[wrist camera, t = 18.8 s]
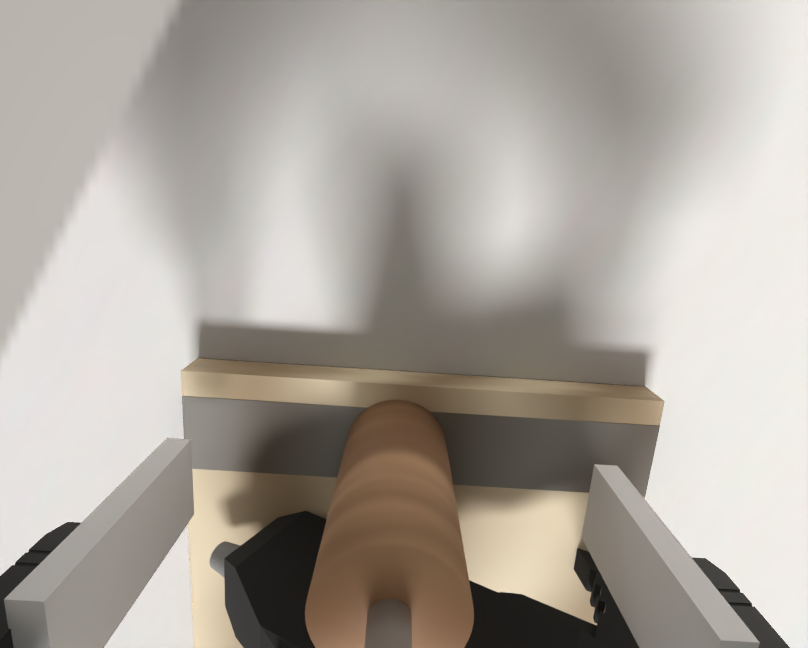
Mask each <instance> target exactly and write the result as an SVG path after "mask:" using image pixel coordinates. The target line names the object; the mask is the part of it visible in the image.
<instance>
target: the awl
mask: <svg viewBox="0 0 808 648" xmlns="http://www.w3.org/2000/svg"><path fill="white" fill-rule="evenodd" d="M305 622H306V627H307V631H308V634H309V636H310V639H311V641H312V642H313V644H314V646H315V648H464V647H465V645H466V644H467V642H468V640H469V637H470V635H471V632H472V628H473V623H474V608H473V601H472V595H471V589H470V583H469V577H468V571H467V565H466V559H465V553H464V547H463V541H462V535H461V529H460V523H459V517H458V511H457V506H456V500H455V494H454V488H453V482H452V476H451V470H450V464H449V458H448V452H447V446H446V440H445V435H444V432H443V429H442V427H441V425H440V423H439V422H438V420H437V419H436V418H435V416H434V415H433V414H432V413H430V412H429V411H428V410H427V409H425V408H424V407H422V406H420V405H418V404H416V403H413V402H410V401H405V400H386V401H382V402H379V403H376V404H374V405H372V406H370V407H368V408H367V409H365V410H364V411H363V412H361V413H360V414H359V415H358V416H357V418H356V419H355V420H354V422H353V423H352V425H351V427H350V429H349V432H348V436H347V440H346V444H345V448H344V452H343V456H342V460H341V464H340V468H339V472H338V476H337V480H336V484H335V488H334V492H333V496H332V500H331V504H330V508H329V512H328V516H327V520H326V524H325V528H324V532H323V536H322V540H321V544H320V548H319V552H318V556H317V560H316V564H315V568H314V572H313V576H312V580H311V584H310V588H309V592H308V596H307V600H306V606H305Z"/></svg>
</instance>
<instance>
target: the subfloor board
mask: <svg viewBox="0 0 808 648" xmlns="http://www.w3.org/2000/svg"><path fill="white" fill-rule="evenodd" d="M181 377H182V404H183V426H184V439H191V450H192V473H193V497H194V515H193V517H192V518H191V520H190V521H189V523H188V530H189V551H190V573H191V595H192V617H193V639H194V648H244V647H243V646H242V645H241V644H240V642H239V641H238V640H237V639H236V637H235V634H234V631H233V628H232V625H231V622H230V619H229V616H228V613H227V610H226V607H225V580H224V577H222V576H221V575H220V574H219V573H217V572H216V571H215V570H214V569H213V568H211V567H210V563H209V562H210V557H211V554H212V552H213V551H214V549H215V548H216V547H217V546H218V545H219V544H220V543H221V542H224V541H227V542H230V543H233V544H237V545H240V546H241V545H242V544H244V543H245V542H246V541H248V540H249V539H250V538H251V537H253V536H254V535H255V534H257V533H258V532H259V531H261V530H262V529H263V528H265V527H266V526H267V525H269V524H270V523H271V522H272V521H274V520H275V519H276V518H278V517H281V516H285V515H290V514H294V513H298V512H302V511H308V512H311V513H313V514H315V515H318V516H320V517H322V518H325V519H327V516H328V512H329V508H330V504H331V500H332V496H333V492H334V488H335V484H336V480H337V476H338V472H339V468H340V464H341V460H342V456H343V452H344V448H345V444H346V440H347V436H348V432H349V429H350V427H351V425H352V423H353V422H354V420H355V419H356V418H357V416H358V415H359V414H360V413H361V412H363V411H364V410H365V409H367V408H368V407H370V406H372V405H374V404H376V403H379V402H382V401H386V400H405V401H410V402H413V403H416V404H418V405H420V406H422V407H424V408H425V409H427V410H428V411H429V412H430V413H432V414H433V415H434V416H435V418H436V419H437V420H438V422H439V423H440V425H441V427H442V429H443V432H444V435H445V440H446V446H447V452H448V458H449V464H450V470H451V476H452V482H453V488H454V494H455V500H456V506H457V511H458V517H459V523H460V529H461V535H462V541H463V547H464V553H465V559H466V565H467V571H468V577H469V580H470V581H472V582H475V583H477V584H479V585H482V586H484V587H486V588H489V589H491V590H493V591H496V592H498V593H499V592H507V593H516V594H523V595H525V596H527V597H530V598H532V599H534V600H537V601H539V602H542V603H544V604H546V605H549V606H551V607H554V608H556V609H558V610H561V611H563V612H566V613H568V614H570V615H573V616H575V617H577V618H580V619H582V620H585V621H587V622H589V623H592V624H594V625H597V623H595V622H594V619H593V615H594V610H595V607H592V606H591V604H590V598H591V592H589V591H587V590H586V589H585V588H584V586H583V584H582V583H581V581H580V579H579V578H578V576H577V574H576V572H575V571H574V563H575V558H576V552H577V548H579V549H582V550H585V551H588V549H587V547H586V545H585V543H584V541H583V539H582V537H581V536H582V531H583V525H584V519H585V514H586V508H587V502H588V497H589V491H590V485H591V480H592V474H593V468H594V464H598V465H615V466H618V467H619V468H620V469H621V471H622V472H623V473H624V474H625V476H626V477H627V478H628V479H629V481H630V482H631V483H632V484H633V486H634V487H635V488H636V489H637V491H638V492H639V493H640V494H641V495H642V497H643V498H645V494H646V489H647V485H648V480H649V475H650V470H651V465H652V461H653V456H654V451H655V446H656V441H657V437H658V432H659V427H660V426H659V425H660V421H661V416H662V411H663V406H664V401H663V400H662V399H661V398H659V397H658V396H657V395H656V394H654V393H653V392H652V391H650V390H649V389H648V388H646V387H642V386H626V385H611V384H595V383H579V382H563V381H548V380H532V379H516V378H501V377H485V376H469V375H453V374H438V373H422V372H406V371H390V370H375V369H359V368H343V367H327V366H312V365H296V364H280V363H264V362H249V361H233V360H217V359H201V358H198V359H196V360H195V361H194V362H192V363H191V364H190V365H188V366H187V367H186V368H184V369H183V370H182V371H181ZM588 552H589V551H588Z"/></svg>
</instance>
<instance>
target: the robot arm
mask: <svg viewBox="0 0 808 648" xmlns="http://www.w3.org/2000/svg"><path fill="white" fill-rule="evenodd" d="M193 515H194V497H193V473H192V450H191V439H175V438H167V439H166V440H165V441H164V442H163V443H162V444H161V445H160V446H159V447H158V448H157V449H156V450H155V451H154V452H153V453H152V454H151V455H150V456H149V457H148V458H147V459H146V460H145V461H143V462H142V463H141V464H140V465H139V466H138V467H137V468H136V469H135V470H134V471H133V472H132V473H131V474H130V475H129V476H128V477H127V478H126V479H125V480H124V481H123V482H122V483H121V484H120V485H119V486H118V487H117V488H116V489H115V490H114V491H113V492H112V493H111V494H110V495H109V496H108V497H107V498H106V499H105V500H104V501H103V502H102V503H101V504H100V505H99V506H98V507H97V508H96V509H95V510H94V511H93V512H92V513H91V514H90V515H89V516H88V517H87V518H86V519H85V520H84V521H83V522H82V523H74V522H67V523H65V524H63V525H62V526H60V527H58V528H56V529H55V530H53V531H51V532H49V533H48V534H46V535H45V536H43V537H42V538H41V539H40V540H39V541H38V542H37V543H36V544H35V545H34V546H33V547H32V548H30V549H29V552H28V553H25V554H24V555H23V556H22V557H21V558H20V559H19V560H17V561H16V563H15V565H12V566H11V567H10V568H9V569H8V570H7V571H6V572H4V573H3V574H2V575H1V576H0V648H104V646H105V645H106V643H107V642H108V640H109V639H110V637H111V636H112V635H113V633H114V632H115V630H116V629H117V627H118V626H119V624H120V623H121V621H122V620H123V618H124V617H125V615H126V614H127V612H128V611H129V609H130V608H131V607H132V605H133V604H134V602H135V601H136V599H137V598H138V596H139V595H140V593H141V592H142V590H143V589H144V587H145V586H146V584H147V583H148V581H149V580H150V579H151V577H152V576H153V574H154V573H155V571H156V570H157V568H158V567H159V565H160V564H161V562H162V561H163V559H164V558H165V556H166V555H167V554H168V552H169V551H170V549H171V548H172V546H173V545H174V543H175V542H176V540H177V539H178V537H179V536H180V534H181V533H182V531H183V530H184V528H185V527H186V526H187V524H188V523H189V521H190V520H191V518H192V517H193ZM581 537H582V539H583V541H584V543H585V545H586V547H587V549H588V551H589V553H590V555H591V556H592V558H593V560H594V562H595V564H596V566H597V568H598V570H599V572H600V574H601V576H602V577H603V579H604V581H605V583H606V585H607V587H608V589H609V591H610V593H611V595H612V597H613V598H614V600H615V602H616V604H617V606H618V608H619V610H620V612H621V614H622V616H623V617H624V619H625V621H626V623H627V625H628V627H629V629H630V631H631V633H632V635H633V637H634V638H635V640H636V642H637V644H638V646H639V648H790V647H789V646H788V645H787V644H786V643H785V642H784V640H783V639H782V638H781V637H780V636H779V635H778V634H777V632H776V631H775V630H774V629H773V628H772V627H771V625H770V624H769V623H768V622H767V621H766V620H765V618H764V617H763V616H762V615H761V614H760V613H759V611H758V610H757V609H756V608H755V607H752V603H751V602H750V601H749V600H748V599H747V598H746V596H745V595H744V594H743V593H740V589H739V588H738V587H737V586H736V585H735V584H734V583H733V581H732V580H731V579H730V578H729V577H728V576H727V574H726V573H724V572H723V571H722V570H720V569H719V568H718V567H716V566H715V565H714V564H712V563H711V562H710V561H708V560H707V559H705V558H691V556H690V555H689V554H688V553H687V551H686V550H685V549H684V548H683V546H682V545H681V544H680V543H679V541H678V540H677V539H676V538H675V536H674V535H673V534H672V533H671V531H670V530H669V529H668V528H667V527H666V525H665V524H664V523H663V522H662V520H661V519H660V518H659V517H658V515H657V514H656V513H655V512H654V510H653V509H652V508H651V507H650V505H649V504H648V503H647V502H646V500H645V499H644V498H643V497H642V495H641V494H640V493H639V492H638V491H637V489H636V488H635V487H634V486H633V484H632V483H631V482H630V481H629V479H628V478H627V477H626V476H625V474H624V473H623V472H622V471H621V469H620V468H619V467H618V466H615V465H598V464H594V468H593V474H592V480H591V485H590V491H589V497H588V502H587V508H586V514H585V519H584V525H583V531H582V536H581Z"/></svg>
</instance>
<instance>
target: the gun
mask: <svg viewBox="0 0 808 648" xmlns="http://www.w3.org/2000/svg"><path fill="white" fill-rule="evenodd" d="M326 520H327V519H325V518H322V517H320V516H318V515H315V514H313V513H311V512H308V511H302V512H298V513H294V514H290V515H285V516H281V517H278V518H276V519H275V520H274V521H272V522H271V523H270V524H269V525H267V526H266V527H265V528H263V529H262V530H261V531H259V532H258V533H257V534H255V535H254V536H253V537H251V538H250V539H249V540H248V541H246V542H245V543H244V544H242V545H241V546H240V545H237V544H233V543H230V542H227V541H224V542H221V543H220V544H219V545H218V546H217V547H216V548H215V549H214V551H213V552H212V554H211V557H210V562H209V563H210V567H211V568H213V569H214V570H215V571H216V572H217V573H219V574H220V575H221V576H222V577H224V580H225V607H226V610H227V613H228V616H229V619H230V622H231V625H232V628H233V631H234V634H235V637H236V639H237V640H238V641H239V642H240V644H241V645H242V646H243V647H244V648H315V646H314V644H313V642H312V641H311V639H310V636H309V634H308V631H307V627H306V622H305V606H306V600H307V596H308V592H309V588H310V584H311V580H312V576H313V572H314V568H315V564H316V560H317V556H318V552H319V548H320V544H321V540H322V536H323V532H324V528H325V524H326ZM574 571H575V572H576V574H577V576H578V578H579V579H580V581H581V583H582V584H583V586H584V588H585V589H586V590H587V591H589V592H591V598H590V604H591V606H592V607H595V610H594V615H593V619H594V622H595V623H597V625H594V624H592V623H589V622H587V621H585V620H582V619H580V618H577V617H575V616H573V615H570V614H568V613H566V612H563V611H561V610H558V609H556V608H554V607H551V606H549V605H546V604H544V603H542V602H539V601H537V600H534V599H532V598H530V597H527V596H525V595H523V594H516V593H507V592H499V593H498V592H496V591H493V590H491V589H489V588H486V587H484V586H482V585H479V584H477V583H475V582H472V581H470V580H469V583H470V589H471V595H472V601H473V608H474V623H473V628H472V632H471V635H470V637H469V640H468V642H467V644H466V645H465V647H464V648H639V646H638V644H637V642H636V640H635V638H634V637H633V635H632V633H631V631H630V629H629V627H628V625H627V623H626V621H625V619H624V617H623V616H622V614H621V612H620V610H619V608H618V606H617V604H616V602H615V600H614V598H613V597H612V595H611V593H610V591H609V589H608V587H607V585H606V583H605V581H604V579H603V577H602V576H601V574H600V572H599V570H598V568H597V566H596V564H595V562H594V560H593V558H592V556H591V555H590V553H589V552H588V551H585V550H582V549H579V548H577V552H576V558H575V563H574Z"/></svg>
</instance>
